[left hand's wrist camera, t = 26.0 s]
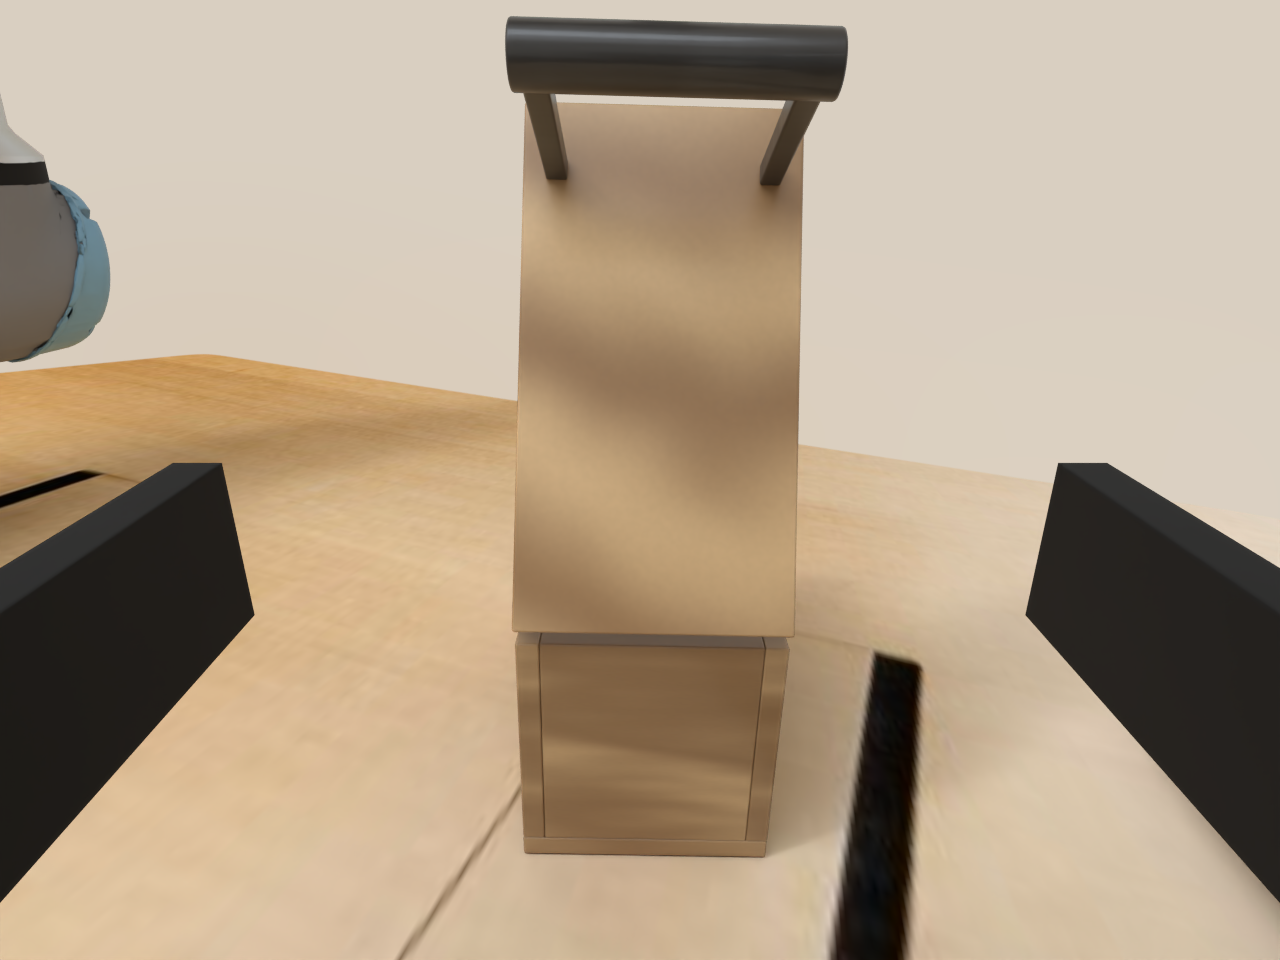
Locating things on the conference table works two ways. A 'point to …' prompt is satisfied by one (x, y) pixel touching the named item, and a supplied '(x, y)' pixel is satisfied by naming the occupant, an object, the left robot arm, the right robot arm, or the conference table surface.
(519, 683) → the chest
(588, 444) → the lid
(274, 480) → the conference table surface
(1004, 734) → the conference table surface
